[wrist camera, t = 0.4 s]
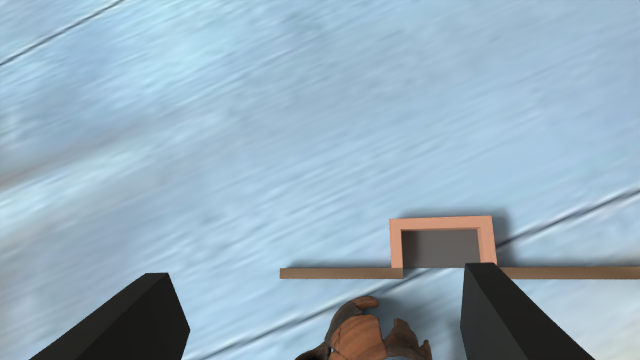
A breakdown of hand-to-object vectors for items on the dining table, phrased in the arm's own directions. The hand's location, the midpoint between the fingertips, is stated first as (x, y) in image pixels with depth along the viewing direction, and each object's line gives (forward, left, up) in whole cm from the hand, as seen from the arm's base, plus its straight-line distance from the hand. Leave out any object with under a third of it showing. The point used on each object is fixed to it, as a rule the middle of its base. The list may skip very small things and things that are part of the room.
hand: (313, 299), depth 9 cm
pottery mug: (-7, +2, -29) cm, 29 cm away
